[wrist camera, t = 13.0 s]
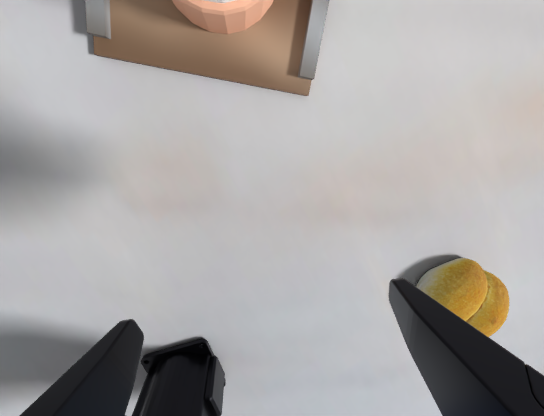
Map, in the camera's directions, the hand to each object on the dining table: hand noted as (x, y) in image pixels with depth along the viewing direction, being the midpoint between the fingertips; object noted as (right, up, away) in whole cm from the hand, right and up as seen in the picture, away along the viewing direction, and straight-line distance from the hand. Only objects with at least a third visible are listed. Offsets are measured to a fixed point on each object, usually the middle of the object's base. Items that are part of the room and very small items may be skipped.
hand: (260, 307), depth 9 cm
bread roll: (+19, -5, +18) cm, 27 cm away
